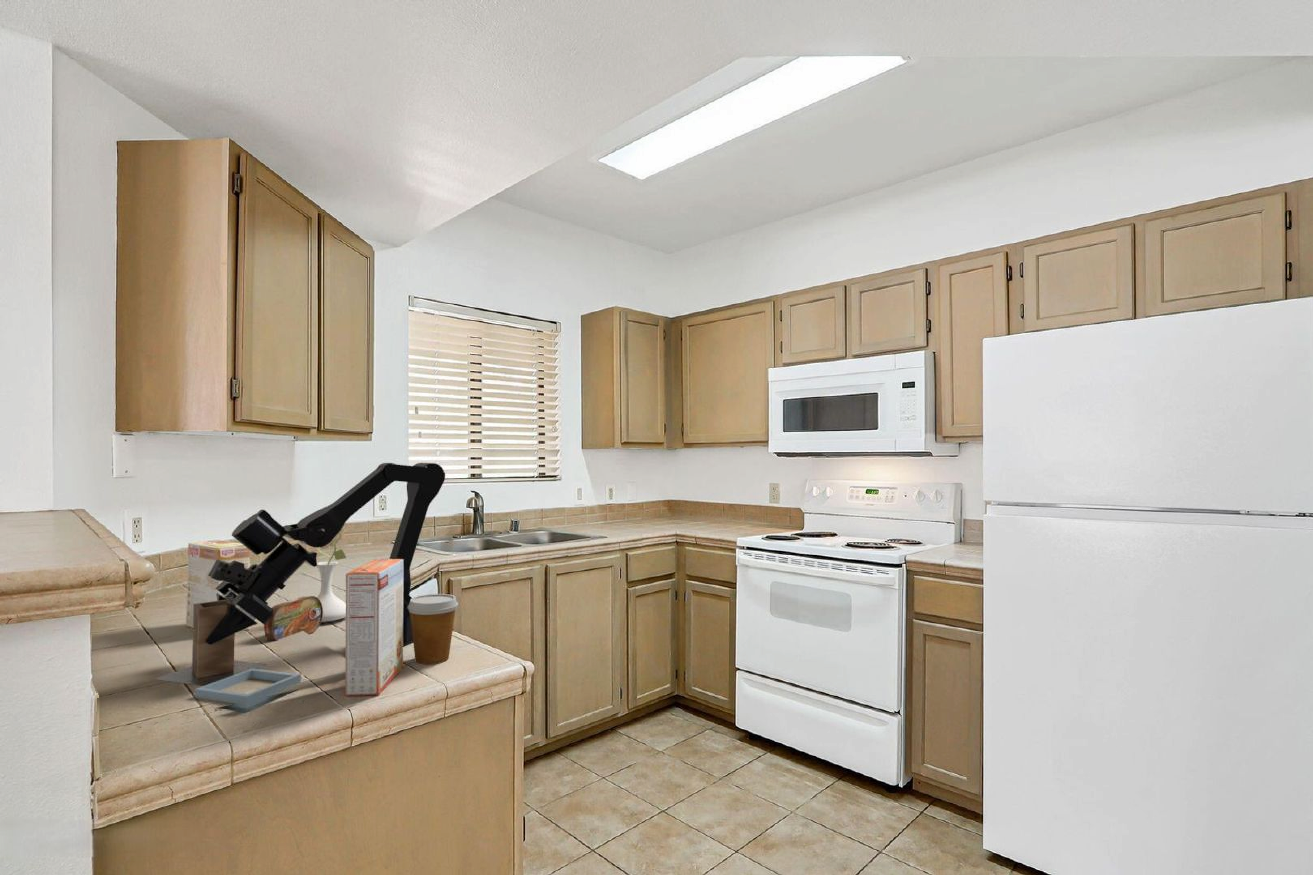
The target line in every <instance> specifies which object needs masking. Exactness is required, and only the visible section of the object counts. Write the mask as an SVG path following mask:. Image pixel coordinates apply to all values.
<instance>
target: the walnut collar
mask: <svg viewBox="0 0 1313 875" xmlns="http://www.w3.org/2000/svg"><path fill="white" fill-rule="evenodd" d="M227 602H230V603H231V604H233V605H234V606H235V604H234V603H233V602H231V601H230V600H229V599H228V600H220V601H212V602H204V603H197V604H194V608H193V628H192V650H191V651H192V652H191V653H192V659H191V667H192V671H193V673H194V674H195V676H196V677H197V678H202V677H208V676H213V675H218V674H223V673H228V672H233V671H234V660H235V636H236V635H235V634H236V633H234V634H232V635H230V636H228V637H226V638H224V639H222V640H220V641H218V642H215V643H213V644H211V645H209V644H208V643H206V639H207V638H208V636H209V635H210V634H211V632H212V631H213V630H214V629H215V627H216V626H217V625H218V624H219V622H220V621H221V620H222V619H223V617H224V616H225V615H226V613H227Z"/></svg>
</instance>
